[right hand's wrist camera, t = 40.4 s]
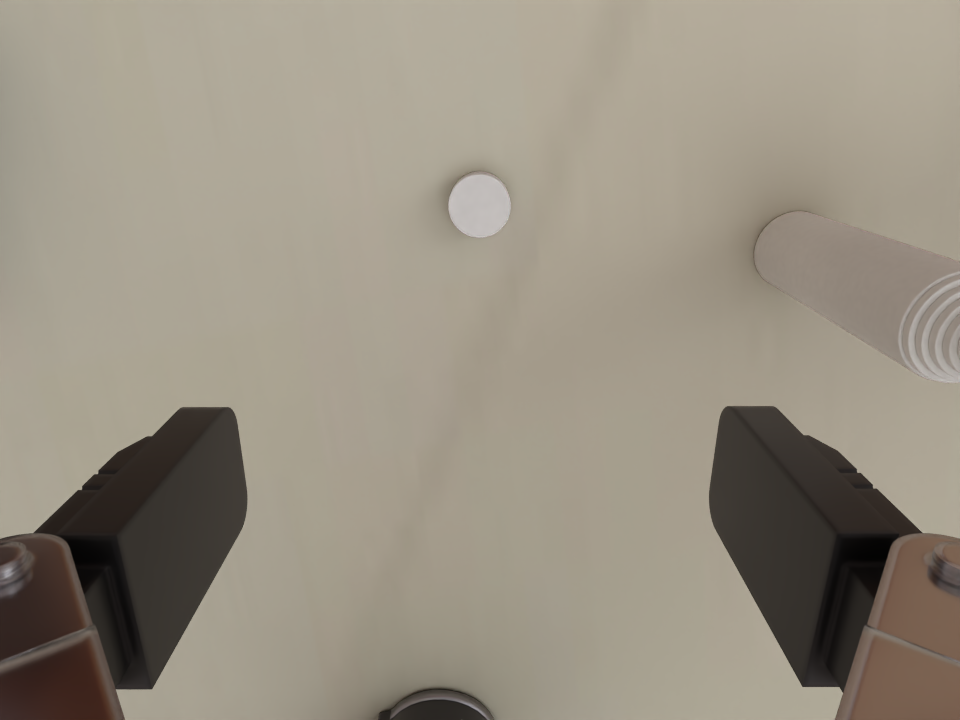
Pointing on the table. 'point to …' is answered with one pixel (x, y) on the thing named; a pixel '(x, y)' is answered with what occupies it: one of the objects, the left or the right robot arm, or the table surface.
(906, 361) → the bottle
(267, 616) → the table surface
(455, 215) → the cap
